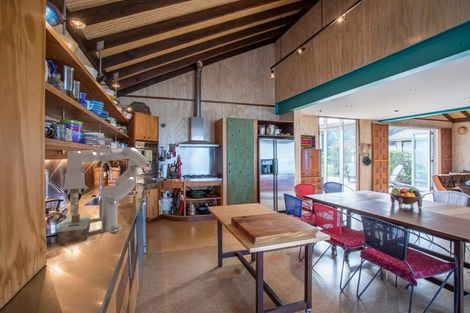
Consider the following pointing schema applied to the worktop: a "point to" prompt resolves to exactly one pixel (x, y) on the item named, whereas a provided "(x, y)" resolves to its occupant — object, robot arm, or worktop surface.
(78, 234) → the brown open box
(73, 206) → the block
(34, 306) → the worktop surface
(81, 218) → the lid
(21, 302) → the worktop surface
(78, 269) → the worktop surface
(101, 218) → the coffee box
